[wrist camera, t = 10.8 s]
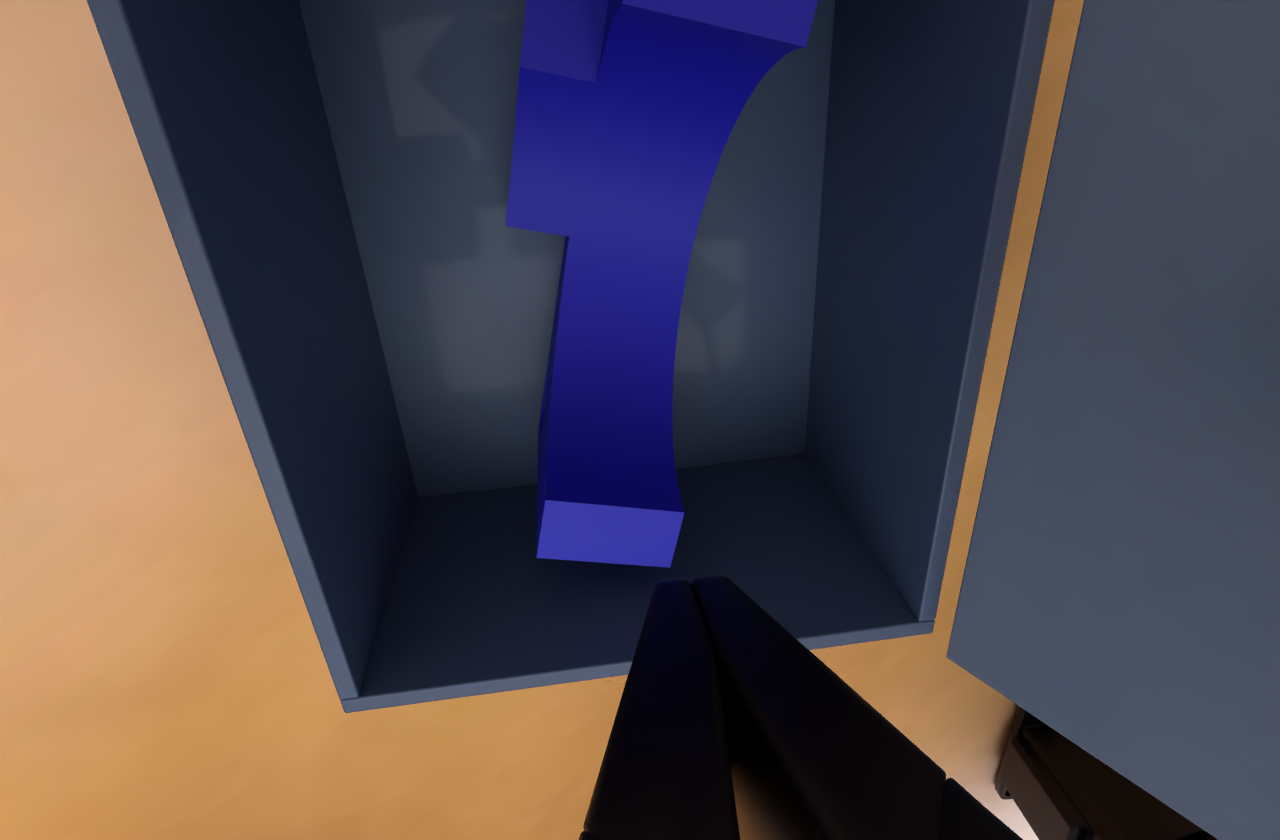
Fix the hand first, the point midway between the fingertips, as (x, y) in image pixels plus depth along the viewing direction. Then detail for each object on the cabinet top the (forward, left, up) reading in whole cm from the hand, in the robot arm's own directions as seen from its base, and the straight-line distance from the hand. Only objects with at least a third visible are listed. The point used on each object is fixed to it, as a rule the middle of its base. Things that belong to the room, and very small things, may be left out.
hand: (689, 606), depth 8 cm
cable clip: (0, -2, -12) cm, 12 cm away
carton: (0, -2, -12) cm, 12 cm away
